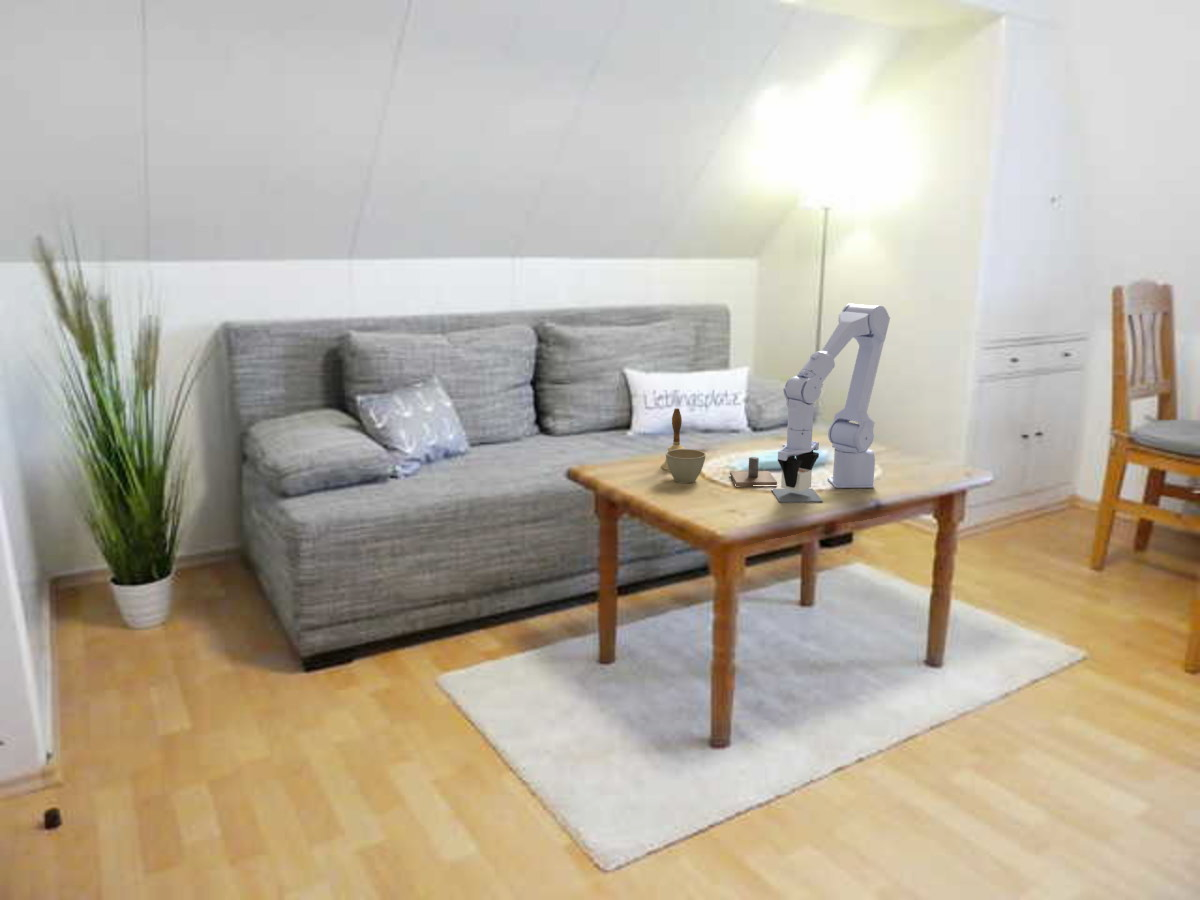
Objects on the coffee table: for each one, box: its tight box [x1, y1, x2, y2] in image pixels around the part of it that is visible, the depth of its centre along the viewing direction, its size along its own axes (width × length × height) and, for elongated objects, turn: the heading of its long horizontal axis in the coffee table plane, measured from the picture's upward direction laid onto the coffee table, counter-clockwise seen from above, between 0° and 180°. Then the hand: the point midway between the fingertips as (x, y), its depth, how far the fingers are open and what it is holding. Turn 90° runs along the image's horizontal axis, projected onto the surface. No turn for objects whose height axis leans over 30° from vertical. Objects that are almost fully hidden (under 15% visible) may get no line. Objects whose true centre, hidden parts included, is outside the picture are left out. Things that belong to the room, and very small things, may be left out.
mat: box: [771, 487, 824, 504], centre depth 203 cm, size 10×10×1 cm
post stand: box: [729, 456, 778, 487], centre depth 215 cm, size 10×10×6 cm
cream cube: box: [780, 468, 813, 492], centre depth 202 cm, size 5×5×4 cm
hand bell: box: [660, 408, 686, 472], centre depth 227 cm, size 8×8×16 cm
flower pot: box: [665, 448, 707, 484], centre depth 216 cm, size 10×10×7 cm
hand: (796, 484), depth 203 cm, fingers closed on cream cube, 5 cm apart
